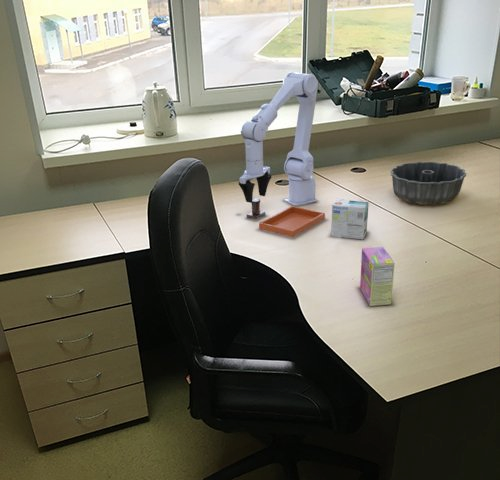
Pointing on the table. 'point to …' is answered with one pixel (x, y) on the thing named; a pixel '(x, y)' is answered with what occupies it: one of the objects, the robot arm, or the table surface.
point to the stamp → (255, 210)
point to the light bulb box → (349, 218)
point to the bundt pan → (427, 182)
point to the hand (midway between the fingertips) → (255, 198)
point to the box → (376, 276)
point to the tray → (292, 221)
